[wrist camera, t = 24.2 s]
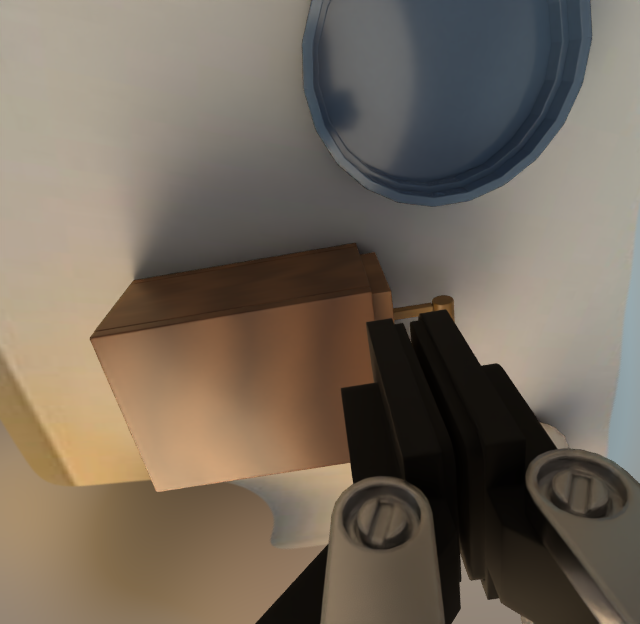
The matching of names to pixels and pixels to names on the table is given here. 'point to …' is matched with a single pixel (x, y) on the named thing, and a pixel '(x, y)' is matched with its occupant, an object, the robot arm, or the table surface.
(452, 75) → the plate
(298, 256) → the cabinet
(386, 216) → the table surface
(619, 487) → the robot arm
